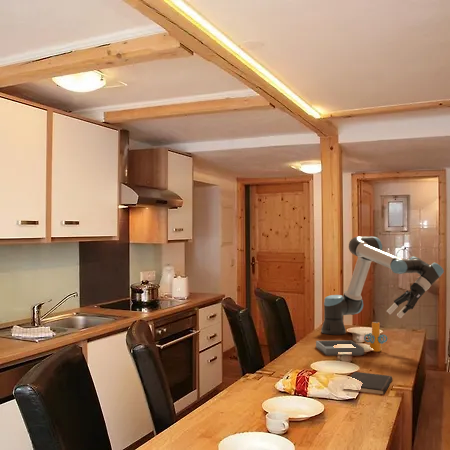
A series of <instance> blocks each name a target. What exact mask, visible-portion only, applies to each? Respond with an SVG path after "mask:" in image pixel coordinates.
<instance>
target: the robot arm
mask: <svg viewBox="0 0 450 450" xmlns="http://www.w3.org/2000/svg"><path fill="white" fill-rule="evenodd" d="M348 249H349V252H350V253H351V254H352V255H354V256H355V257H357V259H356V261H355V262H356V263H355V265H354V269H353V272H352V275H351V278H350V281H349V284H348V288H347V289H346V291H344V292H343V295H341V294H331V295H328V296H325V297H324V301H323V312H324V313H323V317H324V318H323V323H322V325H321V333H322V334H324V335H332V336H333V335H335V336H337V335H339V336H340V335H346V333H347V332H346V331H347V330H346V326H345V324H344V316H350V315H351V316H353V315H357V314H360V313H361V312H362V311H363V309H364V300H363V297H362V292H363V288H364V286H365V282H366V279H367V277H368V274H369V270H370V267H371V263H372V262H375V263H376V264H379V265H380V266H383V267H385V268H387V269H390V270H391V271H392V272H393V273H394V274H398V275H404V274H417V275H419V277H418V278H417V279H416V280H415V281H414V282H413V283H412V284H411V285H410V286H409V289H410V290H406V291H405V292H403V294H401V295H400V296H399V297H397V298H395V299H394V300H393V302H394V303H393V304H391V306H390V307H389V308H388V309H387V310H386V313H388V315H392V314H393V313H394V311H396V309H397V308H399V307H400V305H401V304H403V303H405V302H406V301H407V303H406V304H405V305H404V306H403V307H402V308H401V309H400V310H399V312H397V314H396V316H397V317H398V318H399V319H402V318H403V317H404V315H406V314H407V313H408V312H409V311H410V310H413V309H414V308H415V306H416V305H417V303H418V301H419V299H420V298H421V297H422V296H423V295H424V294H425V293H426V292H427V291H428V290H429V289H430V287H432V286H433V284H434V283H435V282H436V281H437V280H438V279H440V278H441V276H442V275H443V274H444V271H445V270H444V268H443V267H442V266H441V265H440V264H438V263H437V262H433V263H430V264H429V263H428V262H426V261H424V260H423V259H421V258H419V257H417V256H411V257H409V258H408V259H403V258H401V257H398V256H395V255H393V254H391V253H389V252H386V251H383V244H382V241H381V239H380V238H379V237H376V236H371V235H369V236H359V235H358V236H355V237H352V238H351V239H350V240H349V243H348Z"/></svg>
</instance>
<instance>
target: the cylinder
mask: <svg viewBox="0 0 450 450" xmlns="http://www.w3.org/2000/svg"><path fill="white" fill-rule="evenodd" d="M380 323H381V322H378V321H372V322H371V332H369V333H367V334H365V335H364V337H363V340H364V341H365V342H366V343H369V348H370V347H371V348H373V349H374V351H373V352H375V353H378V352H382V345H383V344H384V343H386V342H387V341H388V336H387V335H386V334H381V333H380V332H381V331H380V330H381V329H380V328H381V327H380V326H381V325H380ZM367 339H368V340H367Z"/></svg>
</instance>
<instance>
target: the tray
mask: <svg viewBox="0 0 450 450" xmlns="http://www.w3.org/2000/svg"><path fill="white" fill-rule="evenodd" d="M337 344H352V345H353V346H354V347H356V348H334V347H333V346H334V345H337ZM315 348H316V349H317V350H319V351H320V352H321V353H322V354H323V355H325V356H338V355H337V354H338V352H352V355H351V356H364V355H365V348H364V347H363V346H361V345H360V344H358V343H356V342H355V341H353V340H351V339H350V340H315Z"/></svg>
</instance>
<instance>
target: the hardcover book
mask: <svg viewBox="0 0 450 450" xmlns="http://www.w3.org/2000/svg"><path fill="white" fill-rule="evenodd" d="M349 377H352V378H355V379H357V380H359V381H361V382H362V383H363V384H362V386H361V390H360V391H359V392H362V393H369V394H376V395H377V394H378V395H383V396H384V395H385V394H386V392H387V390H388V388H389V387H390V385H391V383H392V382H393V376H392V375H387V374H378V373H377V374H376V373H369V372H363V371H361V372H360V371H354V372H353V373H352V374H351V375H350V376H349Z"/></svg>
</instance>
